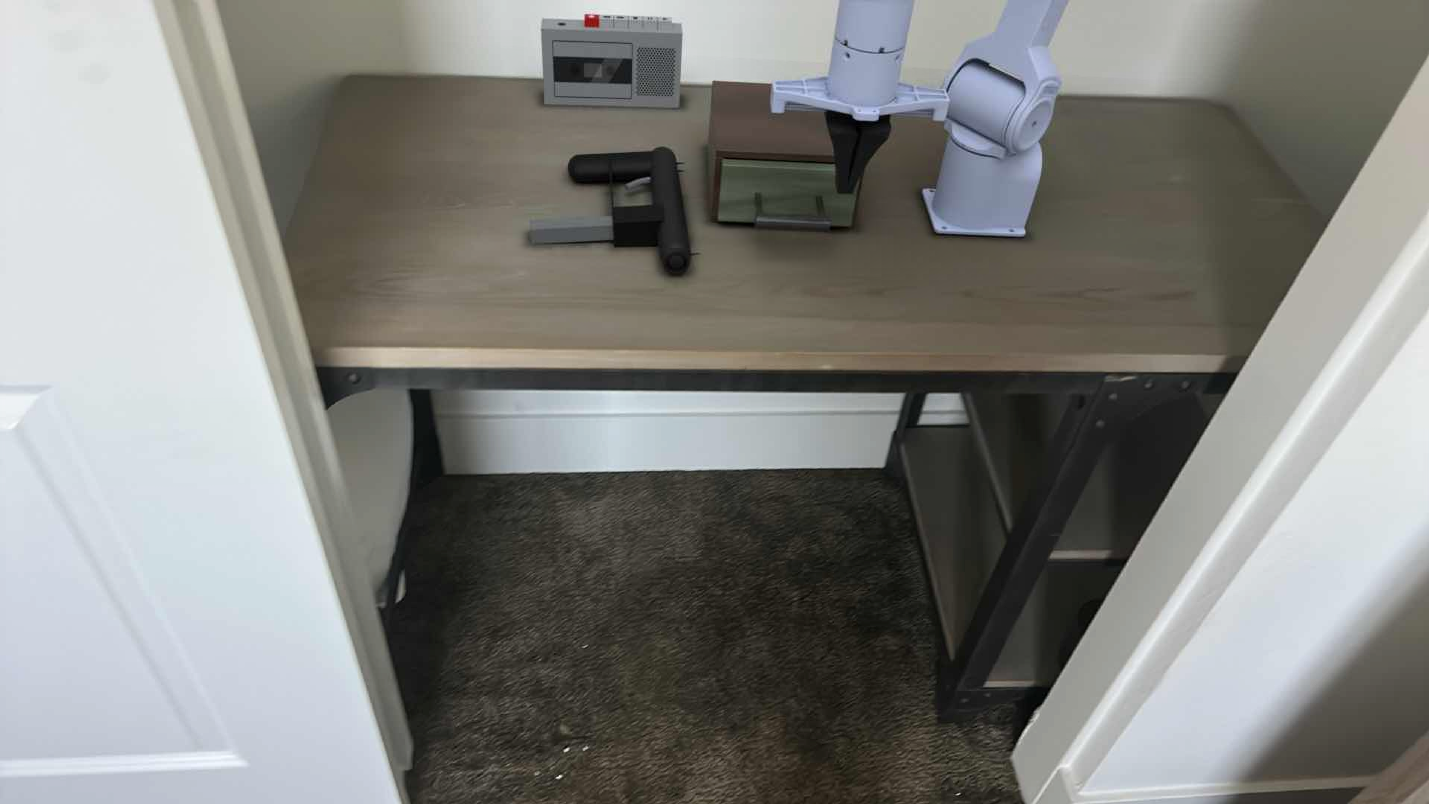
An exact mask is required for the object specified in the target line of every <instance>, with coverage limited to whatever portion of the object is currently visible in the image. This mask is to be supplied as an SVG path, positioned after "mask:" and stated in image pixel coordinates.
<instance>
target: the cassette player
mask: <svg viewBox="0 0 1429 804" xmlns="http://www.w3.org/2000/svg"><path fill="white" fill-rule="evenodd" d="M583 17H584V19H571V18H569V19H567V18H541V25H540V38H541V39H540V40H541V62H542V80H543V82H542V83H543V101H544V105H552V106H553V105H555V106H586V107H587V106H590V107H591V106H592V107H623V108H625V107H628V108H663V109H665V108H666V109H680V98H681V74H682V58H683V57H682V56H683V55H682V53H683V37H684V35H683V33H684V32H683V25H682V23H680V22H673V20H672V19H673V18H672V17H671V16H652V15H651V16H646V15H625V14H624V15H622V14H621V15H620V14H619V15H618V14H597V13H596V14H595V13H591V14H590V13H584V16H583Z"/></svg>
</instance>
